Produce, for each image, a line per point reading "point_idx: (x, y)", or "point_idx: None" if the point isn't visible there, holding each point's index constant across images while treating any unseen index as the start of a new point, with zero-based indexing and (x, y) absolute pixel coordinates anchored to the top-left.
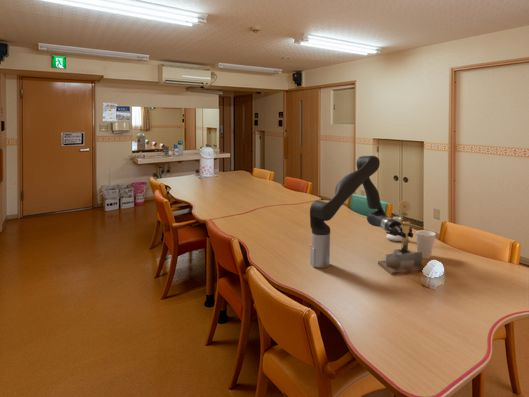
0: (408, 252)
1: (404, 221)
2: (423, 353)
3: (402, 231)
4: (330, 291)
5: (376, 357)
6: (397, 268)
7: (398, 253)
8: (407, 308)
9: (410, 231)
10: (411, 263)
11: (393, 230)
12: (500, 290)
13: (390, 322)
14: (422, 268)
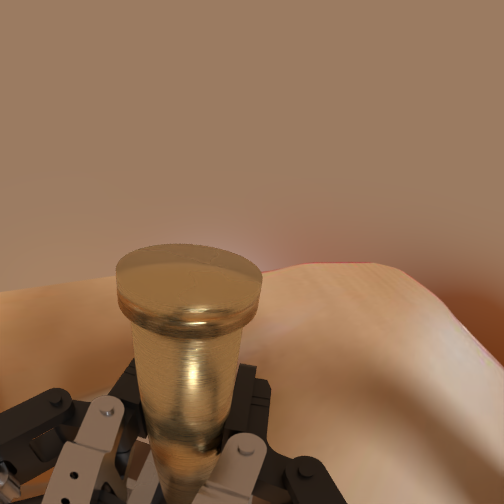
0: (157, 490)
1: (176, 291)
2: (370, 280)
3: (226, 416)
4: (500, 400)
5: (419, 288)
6: (263, 501)
7: (251, 501)
8: (356, 331)
9: (87, 402)
10: None
11: (330, 498)
12: (93, 299)
13: (397, 315)
14: (140, 449)
